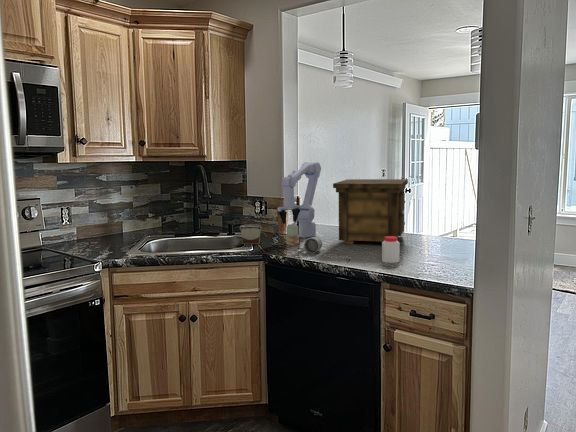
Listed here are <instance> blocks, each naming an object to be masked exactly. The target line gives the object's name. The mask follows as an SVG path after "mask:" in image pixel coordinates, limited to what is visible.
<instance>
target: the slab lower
mask: <svg viewBox="0 0 576 432" xmlns="http://www.w3.org/2000/svg"><path fill="white" fill-rule="evenodd" d="M285 242H286V245H289V246H296V245H299V244H300V239H299V240H295V241H289V240H286V239H285Z"/></svg>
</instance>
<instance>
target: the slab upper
mask: <svg viewBox="0 0 576 432" xmlns="http://www.w3.org/2000/svg"><path fill="white" fill-rule="evenodd" d="M286 240H289V241H295V240H299V241H300V237H299V234H298V235H296V236H289V235H287V234H286V235H285V241H286Z"/></svg>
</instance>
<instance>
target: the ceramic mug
mask: <svg viewBox="0 0 576 432" xmlns="http://www.w3.org/2000/svg"><path fill="white" fill-rule="evenodd" d="M322 247H323V240H322V239H321V238H320V237H317V236H313V237H308V238H307V239H305V241H304V243H303V247H301V248H300V249H299V250H300V252H301V251H302V252H304V251H306V253H308V254H311V253H313V254H315V253H317V252H318V251H320V250H321V249H322Z"/></svg>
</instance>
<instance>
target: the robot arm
mask: <svg viewBox="0 0 576 432" xmlns="http://www.w3.org/2000/svg"><path fill="white" fill-rule="evenodd" d="M321 171H322V167H321V163H320V162H318V161H317V162H316V161H315V162H303V163H302V164H301V167H299V169H297V170H293V171H292V172H291V173H289V174H288V176H284V177H283V178H281V182H280V185H281V187H282V191H283V206H279V207H277V214H278V215H279V216H280V219H281V223H282V224H283V225H286V223H287V213H288V212H287V211H291V213H292V214H291V215H292V222H293V223H297V222H298V235H299V238H303V239H305V238H312V237H317V236H318V235H317V231H316V230H317V228H316V227H317V226H316V222H315V220H314V219H315V211H316V210H315V208H314V207H313V201H314V197H315V194H316V193H315V192H316V188H317V185H318V180H319V178H320V175H321ZM303 175H305V178H307V179H308V182H307V185H306V189H305V194H304V198H303V202H302V204H301V205H299V204H297V205H296V204H295V187H296V185H297V182H298V181H300V180H301V178H302V176H303Z"/></svg>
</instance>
